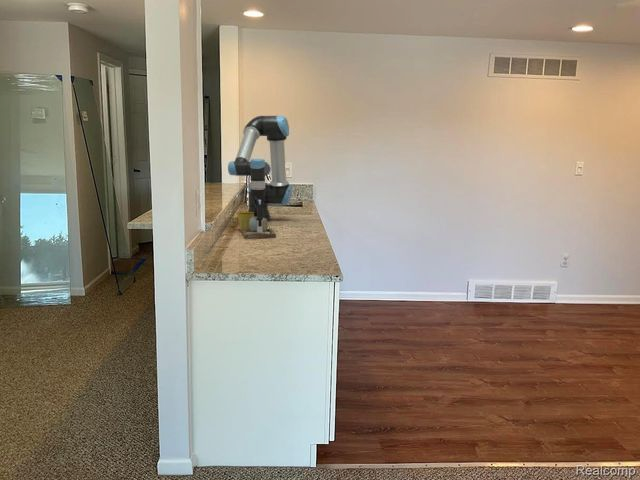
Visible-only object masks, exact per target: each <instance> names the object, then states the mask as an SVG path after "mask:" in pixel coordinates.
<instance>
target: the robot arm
mask: <svg viewBox="0 0 640 480" xmlns="http://www.w3.org/2000/svg"><path fill="white" fill-rule="evenodd" d="M243 128H244V129H243V133H242V134H243V136H242V140H241V142H240V145H239V148H238V150H237V151H238V152H237V154H236V156H235V159H234V161H233V160H232V161H229V162H228V164H227V171H228V174H229V176H235V177H237V176H238V177H239V176H240V177H245V176H246V177H250V182H249V185H248V210H247V212H253V213H254V216H255V217H257V219H256V220H257V233H263V229H262V219H263V218H265V219H267V221H268V222H269V221H271V214H270V210H269V208H268V207H269V205H270V204H271V205H288V204H289V203H290V201H291V198H292V192H293V188H292V185H290V184H289V181H288V180H287V176H286V175H287V170H286V156H285V155H286V153H285V149H286V148H285V141H286V140H287V137H289V136H290V126H289V121H288V119H287V117H286V116H284V115H259V116H256V117H254V118H252V119H251V120H249V121H248V122H247V123H246V125H245V127H243ZM260 137H266V140H267V142H269V150H270V151H269V152H270V154H269V155H270V164H269V163H268V162H266V161H265V159H264V158H251V157H252V154H253V151H254V148H255V145H256V143H257V140H258V139H259V138H260ZM270 173H271V181H270V182H269V184H268V182H266V177H267V176H268V175H269V174H270ZM268 204H269V205H268Z"/></svg>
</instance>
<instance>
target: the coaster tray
mask: <svg viewBox="0 0 640 480" xmlns="http://www.w3.org/2000/svg"><path fill="white" fill-rule="evenodd" d="M241 235H242V236H243V239H244V240H257V239H258V240H259V239H260V240H262V239H263V240H264V239H276V238H277V234H276V232H275V231H274V230H273V229H272V228H267V229H266V231H263V233H257V231H251V230H250V229H245V230H242V231H241Z"/></svg>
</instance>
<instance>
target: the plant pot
mask: <svg viewBox="0 0 640 480" xmlns="http://www.w3.org/2000/svg"><path fill="white" fill-rule="evenodd" d="M252 216H254V213H253V212H248V211H243V212H238V213H237V220H238V222H239V228H240V231H241V232H242V230H245V229H249V221H250V218H251V217H252ZM254 217H255V216H254Z"/></svg>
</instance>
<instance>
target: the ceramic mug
mask: <svg viewBox="0 0 640 480" xmlns="http://www.w3.org/2000/svg"><path fill="white" fill-rule="evenodd" d="M256 219H257V217H254V216H252V217H251V218H250V221H249V229H250V230H251V231H257V220H256ZM268 222H269V221H267V219H265V218H263V219H262V229H263V231H266V229H268V226H269V223H268Z"/></svg>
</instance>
